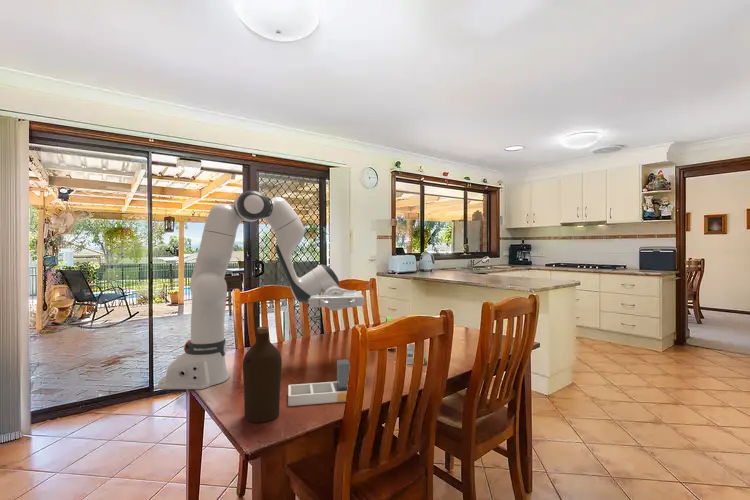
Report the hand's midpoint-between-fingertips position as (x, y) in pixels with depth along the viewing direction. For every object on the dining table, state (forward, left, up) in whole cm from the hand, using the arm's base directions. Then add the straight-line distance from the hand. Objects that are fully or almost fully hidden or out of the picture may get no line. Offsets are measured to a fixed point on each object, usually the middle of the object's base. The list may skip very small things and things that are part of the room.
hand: (339, 303), depth 134 cm
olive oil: (-24, -22, -28) cm, 43 cm away
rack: (-7, -12, -28) cm, 31 cm away
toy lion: (+29, +42, -28) cm, 58 cm away
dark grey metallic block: (0, -12, -28) cm, 31 cm away
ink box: (+34, +17, -28) cm, 47 cm away
